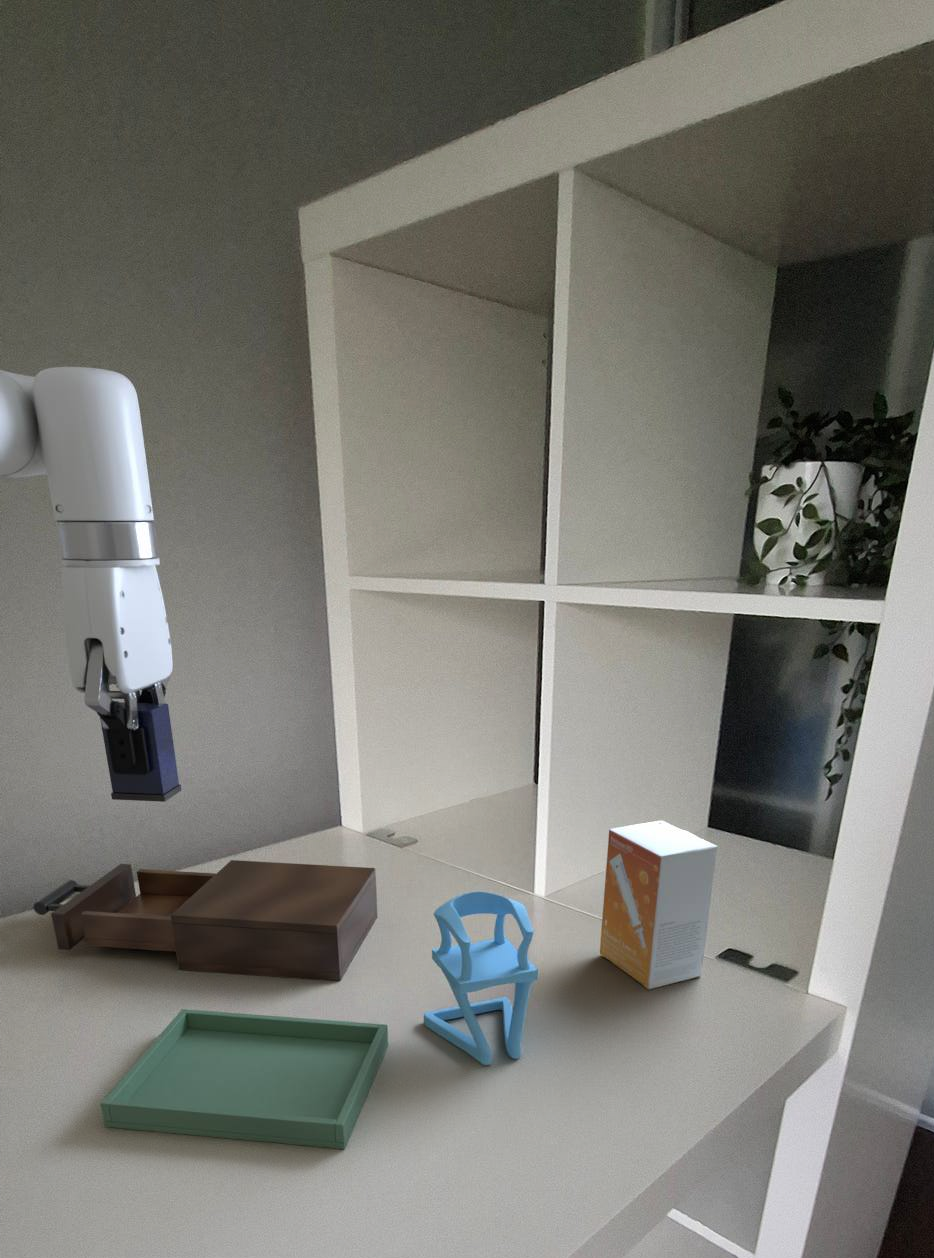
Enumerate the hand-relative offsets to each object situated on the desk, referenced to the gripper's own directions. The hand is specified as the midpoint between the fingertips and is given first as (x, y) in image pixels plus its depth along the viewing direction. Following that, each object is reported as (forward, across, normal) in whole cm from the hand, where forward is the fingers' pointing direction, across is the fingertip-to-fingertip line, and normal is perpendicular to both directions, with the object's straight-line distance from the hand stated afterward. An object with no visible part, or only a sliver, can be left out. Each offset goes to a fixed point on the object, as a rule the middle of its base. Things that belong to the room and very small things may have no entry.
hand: (142, 765), depth 81 cm
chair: (+18, +13, +32) cm, 39 cm away
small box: (+19, -2, +47) cm, 50 cm away
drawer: (+17, -3, -4) cm, 18 cm away
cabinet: (+18, -3, +11) cm, 21 cm away
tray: (+18, +21, +16) cm, 32 cm away
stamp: (+3, 0, 0) cm, 3 cm away
